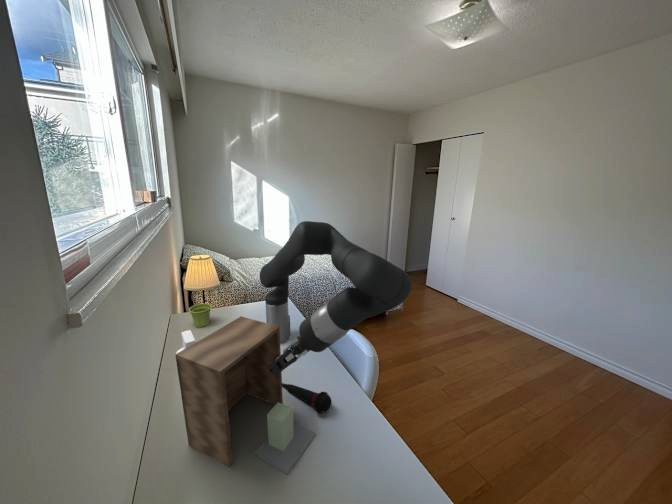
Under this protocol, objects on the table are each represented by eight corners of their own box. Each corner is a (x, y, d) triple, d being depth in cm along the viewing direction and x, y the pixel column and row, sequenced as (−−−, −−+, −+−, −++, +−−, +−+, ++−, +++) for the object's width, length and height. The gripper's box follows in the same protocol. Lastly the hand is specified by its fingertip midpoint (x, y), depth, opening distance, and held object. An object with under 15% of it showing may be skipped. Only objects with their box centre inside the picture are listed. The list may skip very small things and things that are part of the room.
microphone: (278, 396, 89) (327, 420, 78) (272, 385, 87) (321, 407, 75) (289, 383, 93) (337, 403, 81) (283, 371, 91) (331, 390, 79)
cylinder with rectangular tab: (175, 364, 100) (171, 334, 97) (202, 355, 105) (199, 327, 102) (179, 377, 93) (175, 346, 90) (208, 367, 98) (204, 337, 96)
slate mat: (286, 418, 77) (286, 417, 77) (316, 434, 72) (316, 432, 72) (255, 454, 67) (255, 452, 67) (287, 475, 62) (287, 473, 62)
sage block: (279, 430, 73) (278, 402, 71) (293, 436, 71) (292, 408, 69) (268, 444, 69) (267, 414, 67) (283, 451, 67) (282, 421, 65)
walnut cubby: (188, 444, 69) (175, 354, 63) (246, 390, 88) (240, 316, 81) (230, 468, 63) (220, 371, 57) (282, 404, 82) (279, 326, 76)
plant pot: (207, 329, 124) (205, 312, 122) (186, 329, 124) (184, 312, 122) (216, 320, 133) (214, 303, 131) (197, 319, 133) (195, 303, 131)
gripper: (329, 299, 63) (289, 332, 70) (296, 326, 51) (251, 364, 58) (350, 324, 62) (307, 355, 70) (321, 359, 50) (273, 392, 57)
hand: (282, 359), depth 64 cm, fingers open, 8 cm apart
